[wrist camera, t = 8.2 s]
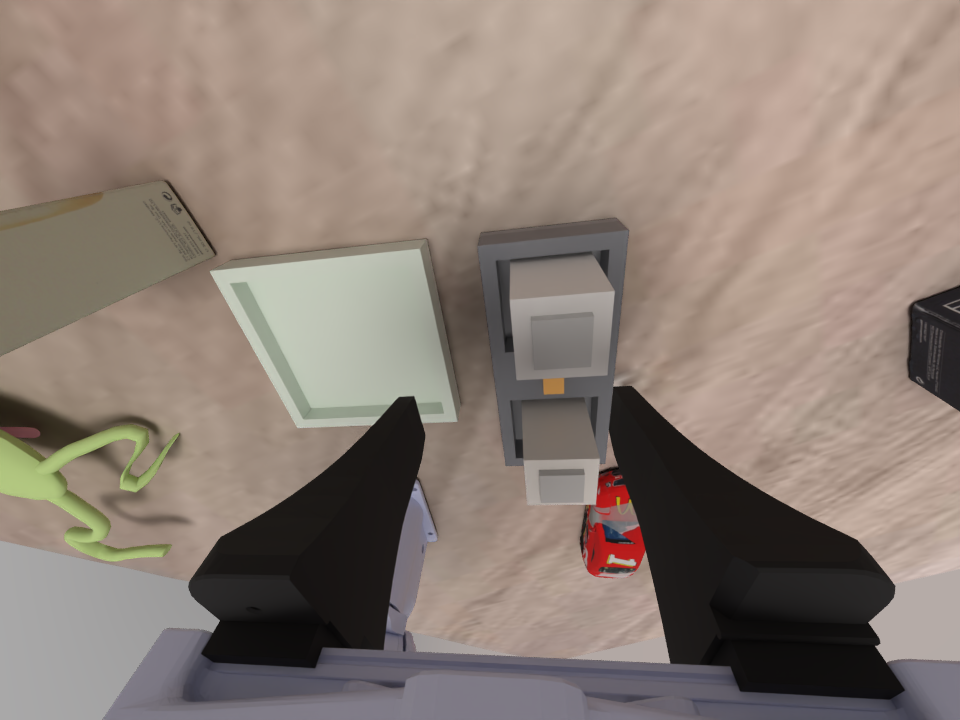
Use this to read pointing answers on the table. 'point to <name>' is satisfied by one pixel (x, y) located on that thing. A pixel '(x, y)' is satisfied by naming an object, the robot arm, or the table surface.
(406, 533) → the robot arm
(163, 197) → the skincare box
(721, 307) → the table surface
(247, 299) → the tray
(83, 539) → the figurine
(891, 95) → the table surface
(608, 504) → the race car
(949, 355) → the small box
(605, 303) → the plug
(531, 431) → the twin plug
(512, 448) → the strip
